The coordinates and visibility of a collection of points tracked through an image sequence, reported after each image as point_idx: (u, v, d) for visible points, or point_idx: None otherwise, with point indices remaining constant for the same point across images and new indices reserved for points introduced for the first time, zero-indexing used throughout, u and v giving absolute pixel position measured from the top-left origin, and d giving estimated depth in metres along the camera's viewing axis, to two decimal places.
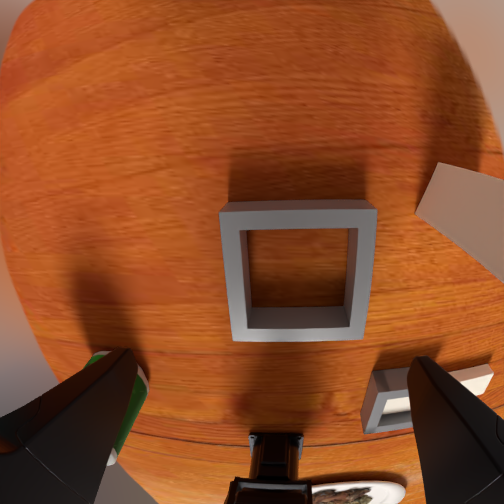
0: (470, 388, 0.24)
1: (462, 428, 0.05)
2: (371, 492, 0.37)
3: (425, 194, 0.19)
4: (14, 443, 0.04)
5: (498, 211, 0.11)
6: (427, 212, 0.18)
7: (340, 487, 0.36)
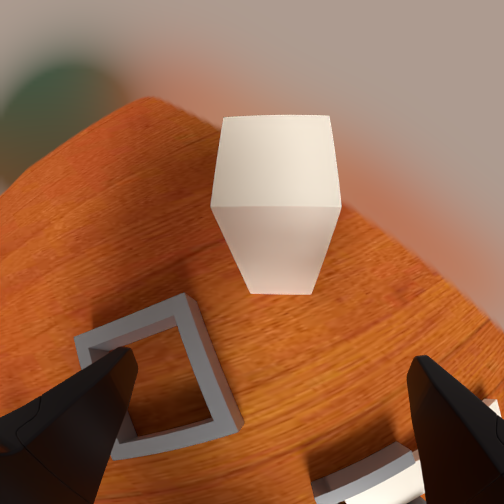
0: None
1: (462, 428, 0.05)
2: None
3: None
4: (14, 443, 0.04)
5: None
6: None
7: None
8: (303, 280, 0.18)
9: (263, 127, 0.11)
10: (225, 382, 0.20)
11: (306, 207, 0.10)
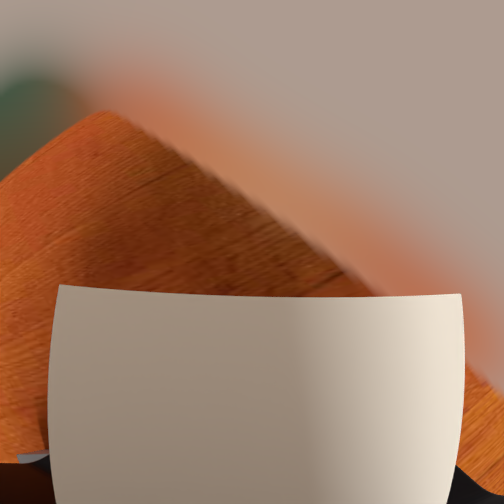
0: None
1: None
2: None
3: None
4: None
5: None
6: None
7: None
8: None
9: (184, 372, 0.03)
10: None
11: None
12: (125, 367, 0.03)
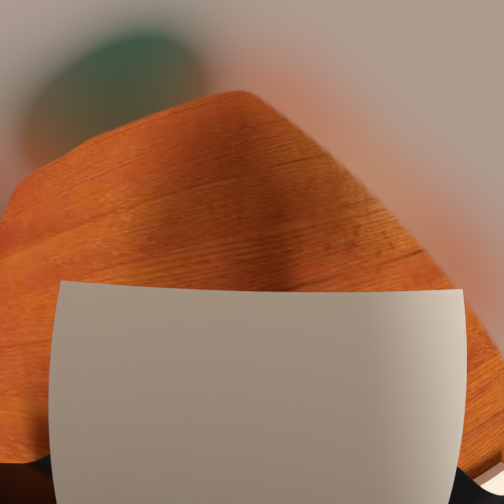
0: None
1: None
2: None
3: None
4: None
5: None
6: None
7: None
8: None
9: (187, 368, 0.03)
10: None
11: None
12: (127, 363, 0.03)
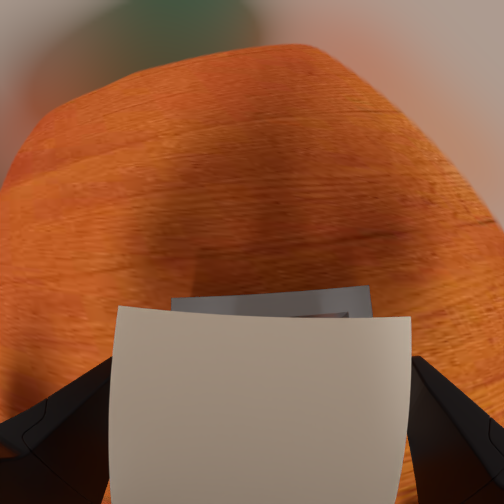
0: None
1: (454, 430, 0.05)
2: None
3: None
4: (21, 447, 0.04)
5: None
6: None
7: None
8: None
9: (218, 367, 0.04)
10: None
11: None
12: (175, 364, 0.04)
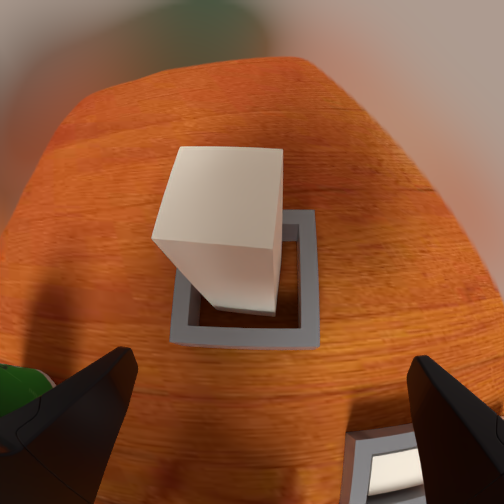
0: None
1: (462, 428, 0.05)
2: None
3: None
4: (14, 442, 0.04)
5: None
6: None
7: None
8: (262, 304, 0.19)
9: (214, 159, 0.12)
10: None
11: (237, 247, 0.10)
12: (199, 160, 0.12)
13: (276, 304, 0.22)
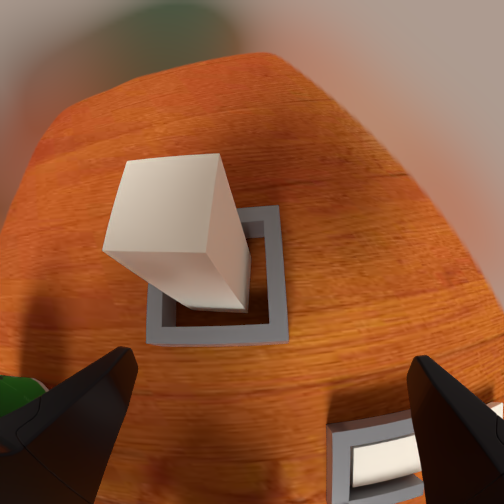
0: None
1: (462, 428, 0.05)
2: None
3: None
4: (14, 443, 0.04)
5: None
6: None
7: None
8: (228, 302, 0.19)
9: (156, 171, 0.12)
10: None
11: (175, 253, 0.11)
12: (143, 173, 0.12)
13: (248, 300, 0.23)
